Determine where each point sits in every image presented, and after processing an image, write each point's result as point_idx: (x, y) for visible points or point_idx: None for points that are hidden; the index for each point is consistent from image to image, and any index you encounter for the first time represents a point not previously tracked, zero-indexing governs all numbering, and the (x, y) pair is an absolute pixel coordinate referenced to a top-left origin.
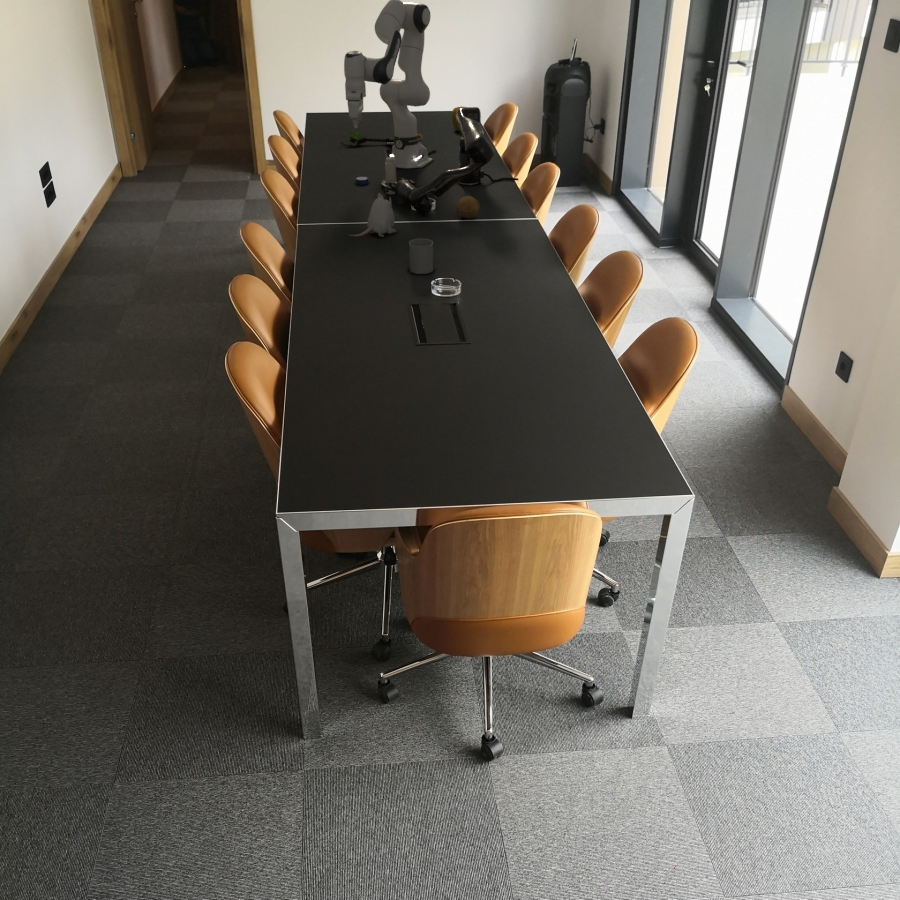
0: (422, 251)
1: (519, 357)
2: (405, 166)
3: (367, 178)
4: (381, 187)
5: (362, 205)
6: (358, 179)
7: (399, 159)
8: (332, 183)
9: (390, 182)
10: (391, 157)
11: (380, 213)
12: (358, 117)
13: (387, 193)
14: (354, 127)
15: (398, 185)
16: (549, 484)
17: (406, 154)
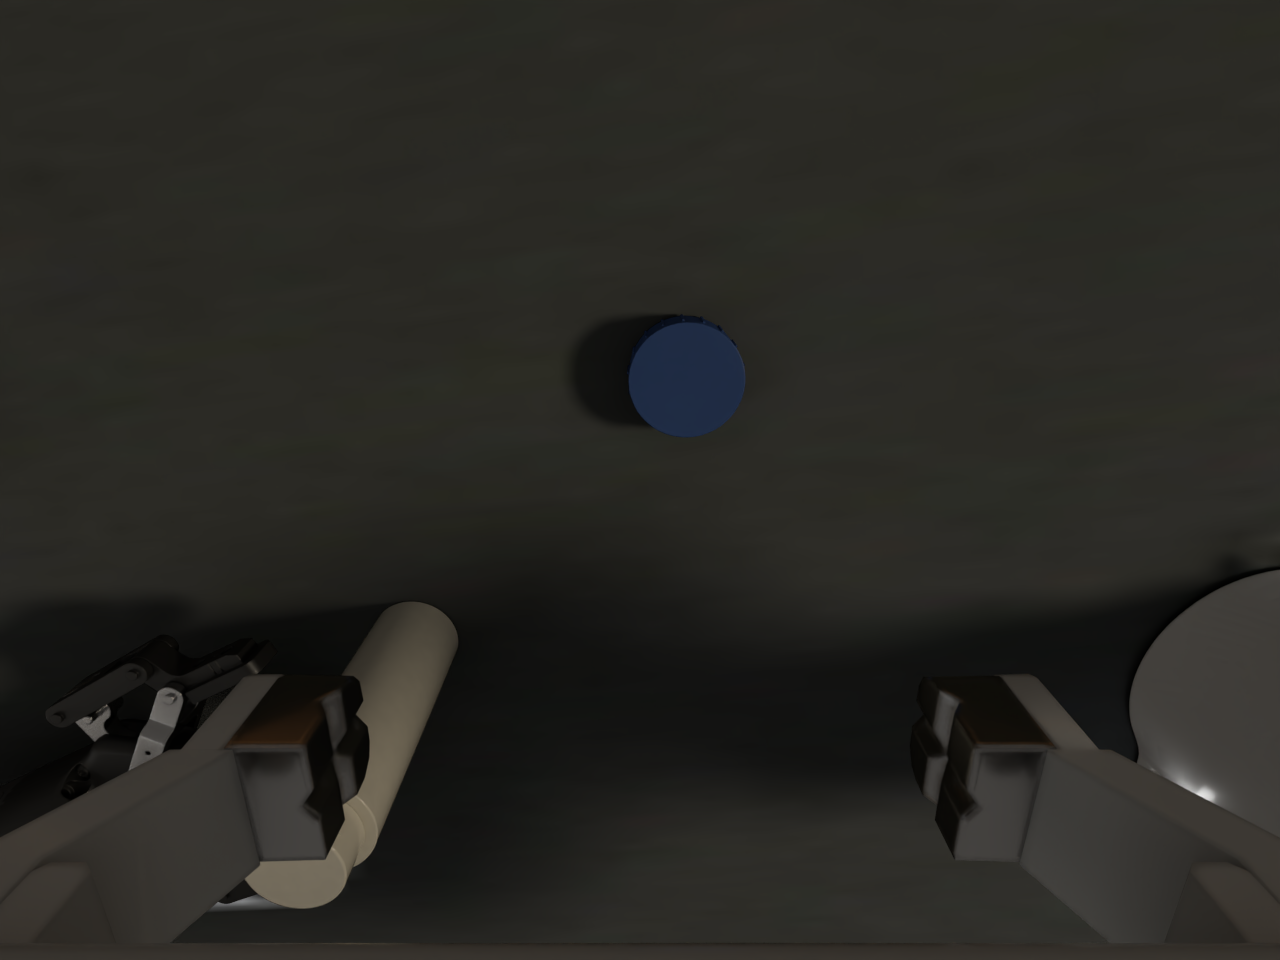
0: None
1: None
2: (1146, 692)
3: (686, 435)
4: (145, 646)
5: (20, 459)
6: (645, 352)
7: (1225, 679)
8: (669, 50)
9: (146, 744)
10: (321, 881)
11: None
12: (1078, 837)
13: (380, 615)
14: (252, 691)
15: (6, 826)
16: None
17: (1237, 770)
